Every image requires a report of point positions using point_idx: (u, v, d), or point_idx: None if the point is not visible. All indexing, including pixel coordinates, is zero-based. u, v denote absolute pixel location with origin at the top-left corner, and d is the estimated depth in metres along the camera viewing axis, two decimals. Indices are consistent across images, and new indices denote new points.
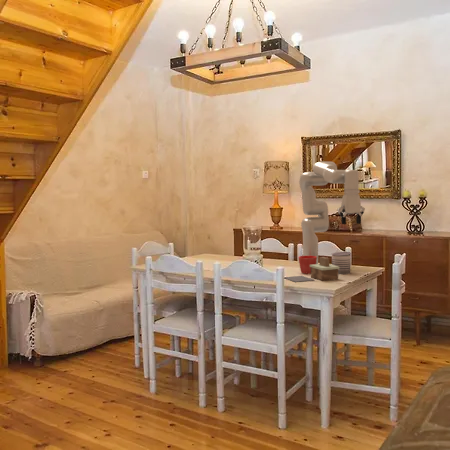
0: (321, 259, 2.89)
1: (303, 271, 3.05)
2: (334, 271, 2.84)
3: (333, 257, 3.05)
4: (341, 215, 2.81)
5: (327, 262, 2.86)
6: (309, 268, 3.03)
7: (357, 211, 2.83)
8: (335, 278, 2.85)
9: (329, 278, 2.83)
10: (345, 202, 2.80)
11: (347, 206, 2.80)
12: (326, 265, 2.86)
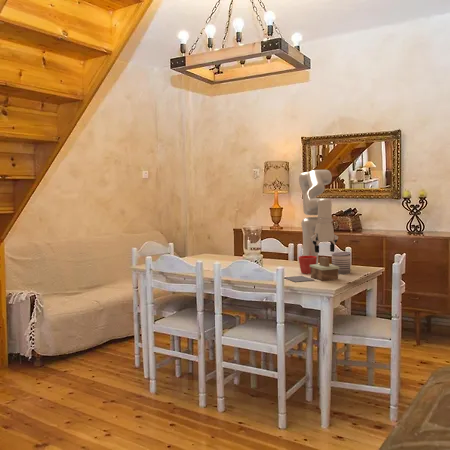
0: (321, 259, 2.89)
1: (303, 271, 3.05)
2: (334, 271, 2.84)
3: (333, 257, 3.05)
4: (314, 243, 2.84)
5: (327, 262, 2.86)
6: (309, 268, 3.03)
7: (330, 239, 2.86)
8: (335, 278, 2.85)
9: (329, 278, 2.83)
10: (318, 231, 2.84)
11: (320, 235, 2.84)
12: (326, 265, 2.86)
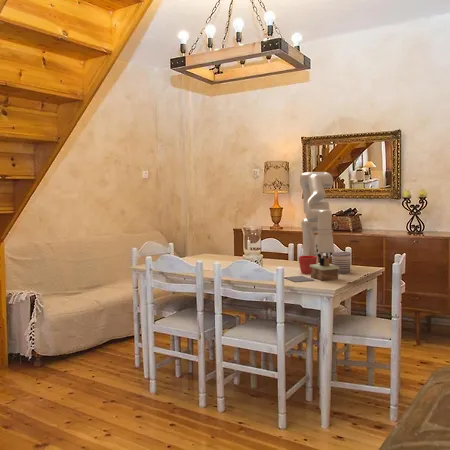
0: None
1: (303, 271, 3.05)
2: (334, 271, 2.84)
3: (333, 257, 3.05)
4: (319, 256, 2.86)
5: (327, 262, 2.86)
6: (309, 268, 3.03)
7: (330, 250, 2.87)
8: (335, 278, 2.85)
9: (329, 278, 2.83)
10: (318, 242, 2.85)
11: (320, 246, 2.84)
12: (326, 265, 2.86)
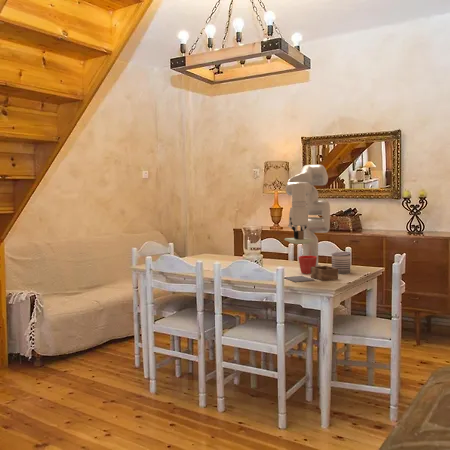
0: None
1: (303, 271, 3.05)
2: (334, 271, 2.84)
3: (333, 257, 3.05)
4: (293, 229, 2.84)
5: (301, 235, 2.83)
6: (309, 268, 3.03)
7: (304, 223, 2.84)
8: (335, 278, 2.85)
9: (329, 278, 2.83)
10: (292, 214, 2.82)
11: (294, 218, 2.82)
12: (300, 238, 2.83)
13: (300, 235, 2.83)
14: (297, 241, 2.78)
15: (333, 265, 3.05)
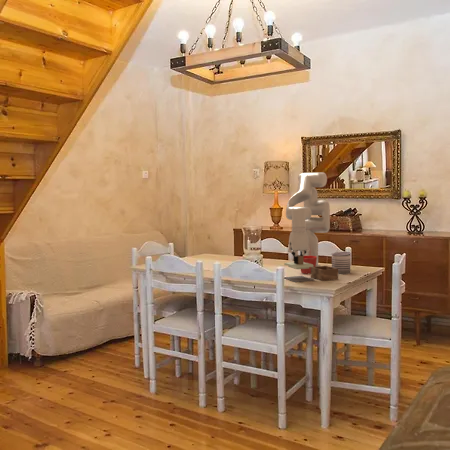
0: None
1: (303, 271, 3.05)
2: (334, 271, 2.84)
3: (333, 257, 3.05)
4: (293, 254, 2.85)
5: (301, 260, 2.84)
6: (309, 268, 3.03)
7: (304, 248, 2.85)
8: (335, 278, 2.85)
9: (329, 278, 2.83)
10: (292, 240, 2.83)
11: (294, 244, 2.83)
12: (300, 263, 2.84)
13: (300, 260, 2.84)
14: (297, 266, 2.79)
15: (333, 265, 3.05)
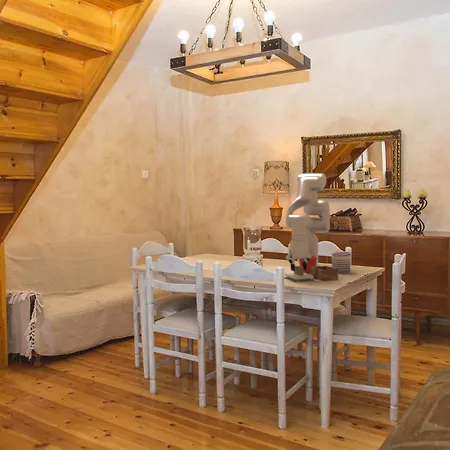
0: (295, 268, 2.88)
1: None
2: (334, 271, 2.84)
3: (333, 257, 3.05)
4: (290, 262, 2.85)
5: (301, 271, 2.85)
6: (309, 268, 3.03)
7: (304, 256, 2.86)
8: (335, 278, 2.85)
9: (329, 278, 2.83)
10: (292, 248, 2.83)
11: (294, 252, 2.83)
12: (300, 274, 2.85)
13: (300, 271, 2.84)
14: (297, 278, 2.80)
15: (333, 265, 3.05)
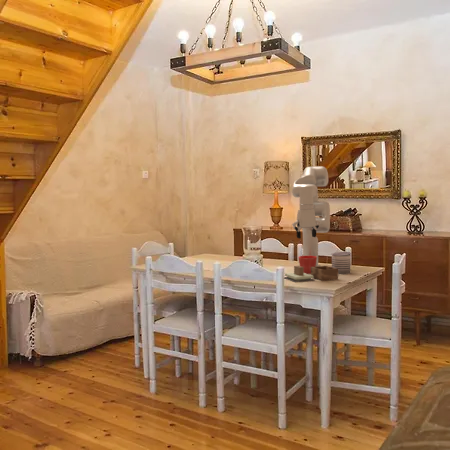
0: (295, 268, 2.88)
1: None
2: (334, 271, 2.84)
3: (333, 257, 3.05)
4: (296, 229, 2.89)
5: (301, 271, 2.85)
6: (309, 268, 3.03)
7: (312, 225, 2.91)
8: (335, 278, 2.85)
9: (329, 278, 2.83)
10: (300, 217, 2.88)
11: (301, 221, 2.88)
12: (300, 274, 2.85)
13: (300, 271, 2.84)
14: (297, 278, 2.80)
15: (333, 265, 3.05)
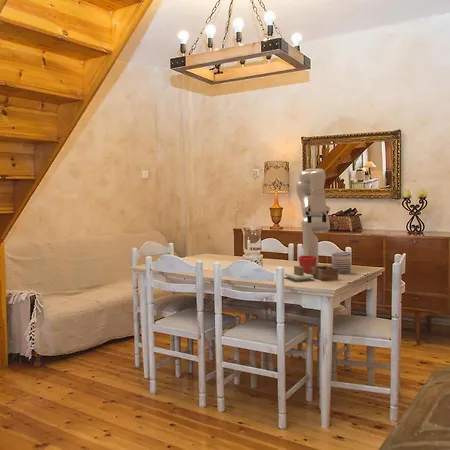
0: (295, 268, 2.88)
1: None
2: (334, 271, 2.84)
3: (333, 257, 3.05)
4: (307, 214, 2.97)
5: (301, 271, 2.85)
6: (309, 268, 3.03)
7: (322, 210, 2.98)
8: (335, 278, 2.85)
9: (329, 278, 2.83)
10: (311, 202, 2.96)
11: (312, 206, 2.96)
12: (300, 274, 2.85)
13: (300, 271, 2.84)
14: (297, 278, 2.80)
15: (333, 265, 3.05)
